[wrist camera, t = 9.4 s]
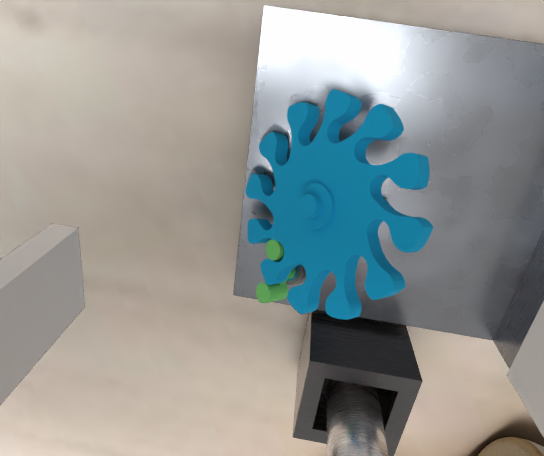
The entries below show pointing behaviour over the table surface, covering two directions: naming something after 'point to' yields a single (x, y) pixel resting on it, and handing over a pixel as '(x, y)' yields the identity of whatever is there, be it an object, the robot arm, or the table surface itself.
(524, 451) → the ceramic mug
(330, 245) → the blue lobed star wheel
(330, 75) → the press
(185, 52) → the table surface
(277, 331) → the table surface
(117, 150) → the table surface
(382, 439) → the plunger
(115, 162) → the table surface
